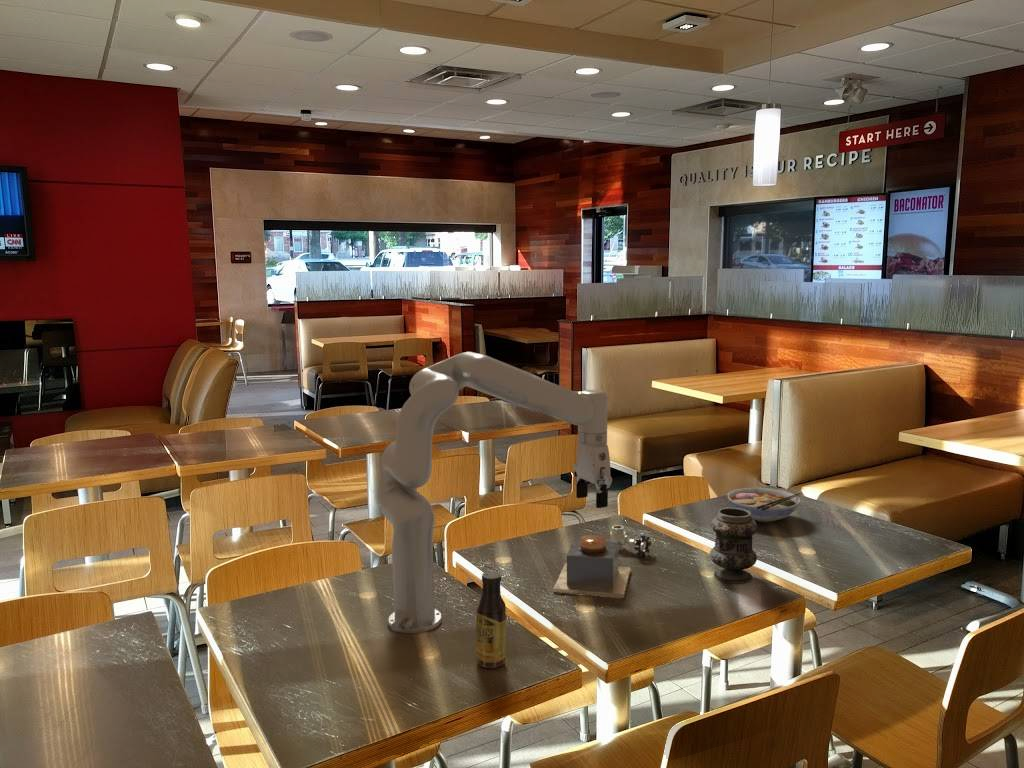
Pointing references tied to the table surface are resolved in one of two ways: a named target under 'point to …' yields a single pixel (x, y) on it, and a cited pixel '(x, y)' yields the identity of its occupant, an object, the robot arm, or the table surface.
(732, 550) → the apothecary jar
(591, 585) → the block
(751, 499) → the ramen bowl
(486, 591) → the sauce bottle
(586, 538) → the pin
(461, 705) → the table surface
